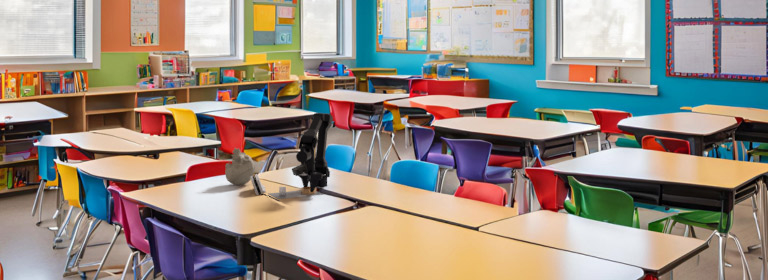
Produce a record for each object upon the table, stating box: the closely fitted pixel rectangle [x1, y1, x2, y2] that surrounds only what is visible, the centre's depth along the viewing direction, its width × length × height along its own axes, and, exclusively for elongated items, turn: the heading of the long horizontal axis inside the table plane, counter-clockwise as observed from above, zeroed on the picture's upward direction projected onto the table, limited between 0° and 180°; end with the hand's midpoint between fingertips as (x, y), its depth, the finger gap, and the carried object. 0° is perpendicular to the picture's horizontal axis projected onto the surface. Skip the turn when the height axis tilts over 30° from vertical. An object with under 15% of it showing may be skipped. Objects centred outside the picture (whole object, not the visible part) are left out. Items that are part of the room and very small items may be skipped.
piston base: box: [267, 186, 325, 202], centre depth 352 cm, size 24×14×5 cm, turn 121°
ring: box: [300, 185, 317, 194], centre depth 356 cm, size 7×7×2 cm
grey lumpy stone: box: [224, 147, 256, 186], centre depth 377 cm, size 13×15×20 cm
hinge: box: [250, 173, 267, 196], centre depth 362 cm, size 17×5×10 cm, turn 12°
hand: (308, 190), depth 356 cm, fingers closed on ring, 7 cm apart
